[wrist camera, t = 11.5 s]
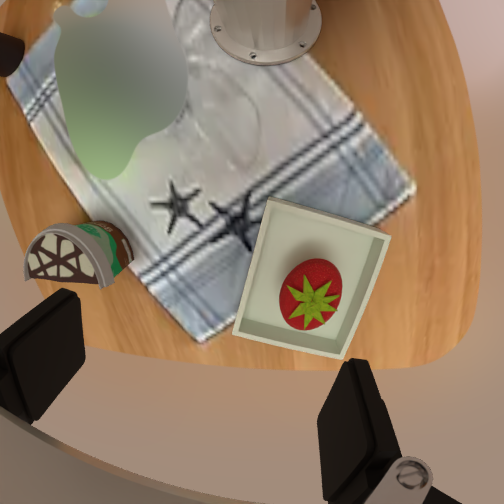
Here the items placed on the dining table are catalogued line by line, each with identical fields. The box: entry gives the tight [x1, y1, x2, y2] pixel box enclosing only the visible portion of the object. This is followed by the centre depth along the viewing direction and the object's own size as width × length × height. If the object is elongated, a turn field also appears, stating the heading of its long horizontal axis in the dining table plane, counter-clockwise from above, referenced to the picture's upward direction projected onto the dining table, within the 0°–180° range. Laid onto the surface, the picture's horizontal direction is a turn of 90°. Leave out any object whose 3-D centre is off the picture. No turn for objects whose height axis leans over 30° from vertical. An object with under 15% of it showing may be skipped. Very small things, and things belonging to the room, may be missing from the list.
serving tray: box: [232, 196, 392, 360], centre depth 34 cm, size 15×13×4 cm
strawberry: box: [279, 258, 343, 331], centre depth 30 cm, size 6×8×10 cm
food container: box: [24, 221, 134, 289], centre depth 32 cm, size 12×6×10 cm, turn 90°
